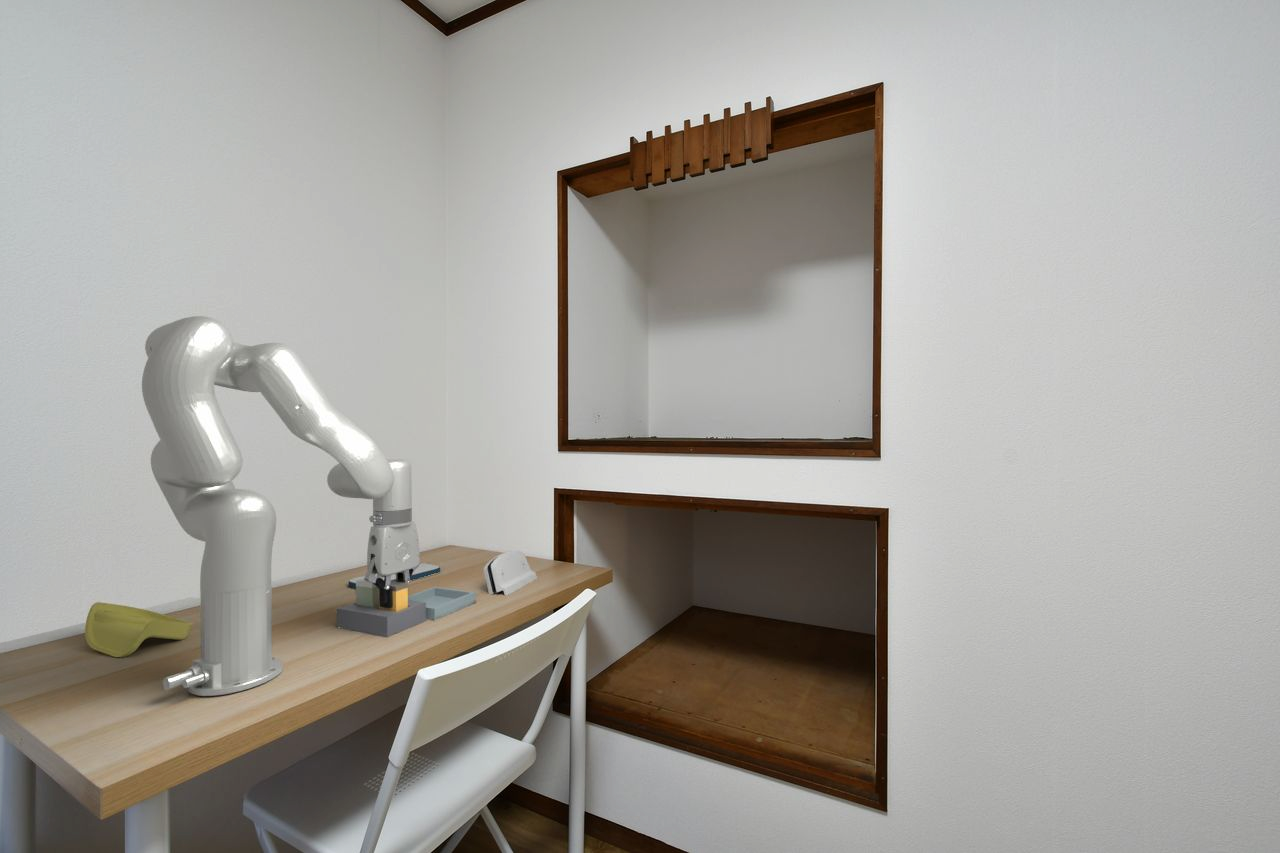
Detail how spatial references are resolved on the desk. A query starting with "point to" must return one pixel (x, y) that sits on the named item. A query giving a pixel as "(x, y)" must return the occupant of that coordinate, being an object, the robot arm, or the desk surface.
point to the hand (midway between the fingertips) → (393, 603)
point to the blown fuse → (398, 596)
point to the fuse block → (377, 613)
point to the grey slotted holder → (508, 572)
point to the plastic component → (128, 628)
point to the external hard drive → (416, 574)
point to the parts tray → (443, 601)
